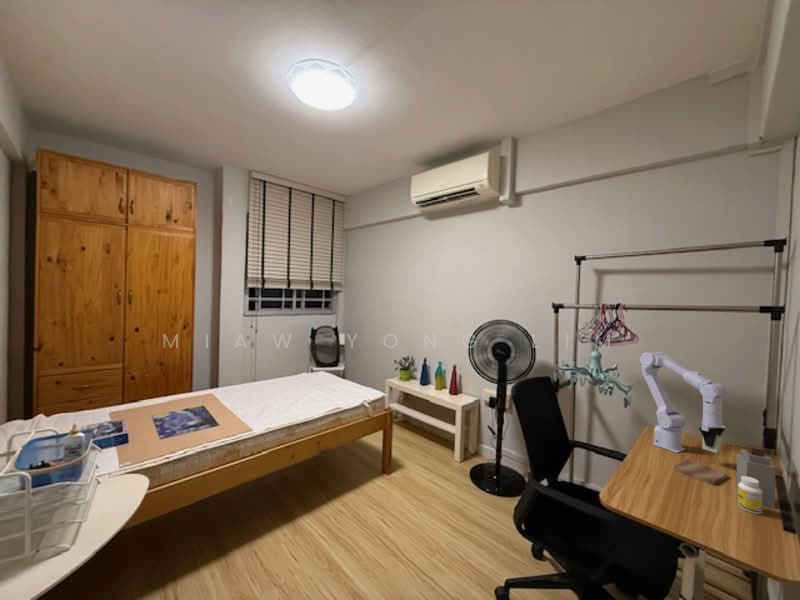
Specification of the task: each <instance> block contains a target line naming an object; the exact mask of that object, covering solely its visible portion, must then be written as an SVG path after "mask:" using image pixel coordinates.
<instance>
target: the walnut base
mask: <svg viewBox="0 0 800 600" xmlns="http://www.w3.org/2000/svg"><path fill="white" fill-rule="evenodd" d="M673 469H674V471H676V472H678V473H682V474H683V475H686V476H689V477H691V478H694V479H697V480H700V481H702V482H705V483H707V484H710V485H712V486H717V484H719V483H720V482H722V481H723V480H726V479H727V477H728V473H726V472H724V471H723V470H722V471H721V470H718V469H715V468H713V467H710V466H707V465H705V464H702V463H699V462H696V461H693V460H690V459H686V460H683V461H682V462H680V463H678V464H675V466H674V468H673Z"/></svg>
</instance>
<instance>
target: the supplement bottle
mask: <svg viewBox="0 0 800 600" xmlns="http://www.w3.org/2000/svg"><path fill="white" fill-rule="evenodd" d="M737 505H738V507H739V508H740V509H742V510H744V511H746V512H748V513H751V514H754V515H761V514H763V506H762V490H761V489H760V488H759V481H758V480H756V479H754V478H751V477H747V476H742V477H741V482H740V483H739V484H738V493H737Z"/></svg>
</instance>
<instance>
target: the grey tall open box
mask: <svg viewBox="0 0 800 600" xmlns="http://www.w3.org/2000/svg"><path fill="white" fill-rule="evenodd" d="M740 451H741V454H739V453H737V454H736V493H737V494H738V484H739V483H740V482H741V477H742V476H747V477H751V478H754V479H756V480H758V481H759V488H760V489H761V490H762V507H766V508H770V509H771V508H772V509H775V508H776V507H775V506H776V466H774V465H773V464H772V463H771V461H772V458H771V457H769V456H768V455H767V454H765V453H766V450H765V449H764V448H763V447H761V446H760V445H754V444H748V443H746V449H744V448H740Z"/></svg>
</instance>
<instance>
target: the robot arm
mask: <svg viewBox="0 0 800 600" xmlns="http://www.w3.org/2000/svg"><path fill="white" fill-rule="evenodd" d="M639 362H640V364H641V365H640V367H641V373H642V376H643V378H644V380H645V382H646V384H647V386H648V389H649V391H650V393H651V395H652V397H653V400H654V401H655V404H656V406H657V411H656V413H655V415H656V417H657V423H658V424H656V425H655V427H654V429H653V445H654V446H656V447H659V448H662V449H665V450H667V451H671V452H673V453H677V454H679V453H680V452H682V451H685V450H686V448H685V447H684V446H683V447H682V433H683V432H682V431H683V427H685V425H686V423H687V422H686V419H685V417H684V416H683V415H682V414H681V413H680V410H679V409H678V408H676V407H674V406H673V404H672V402H671V400H670V398H669V396H668V393H667V392H666V389H665V388H664V386H663V384H662V383H663V382H662V381H661V379H660V377H659V375H658V371H659V370H660V368H661V369H662V367H664V368H665V367H666V368H667V369H669V370H671V371H673V372H674V373H676V374H678V375H680V376H681V377H683V381H684V382H686V383H687V384H688V385H690V386H692V387H693V388H695V389H696V390H698V391H699V393H700V394H701V396H702V420H701V426H699V427H698V430H699V432H700V433H701V435H703V438H704V442H705V445H706V446H709V447H713V445H714V440H715V437H716V435H718V436H721V437H722V434H723V433H724V431H725V430H726V427H727V426H726V425H724V424H723V418H722V417H723V397H724V396H725V395H726V393H727V390H726V388H725V387H724V386H723V385H722V384H721V383H719V382H713V381H712V380H711V379H708V378H706V377H705V376H703V375H701V373H700V372H699V371H694V370H688V369H686V368H685V367H684V366H682V365H681V364H679V363H678V362H677V361H676V360H674V359H672V358H671V357H670V355H668V354H665V353H664V352H662V351H656V352H644V353H642V354H641V355H640V357H639Z"/></svg>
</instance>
